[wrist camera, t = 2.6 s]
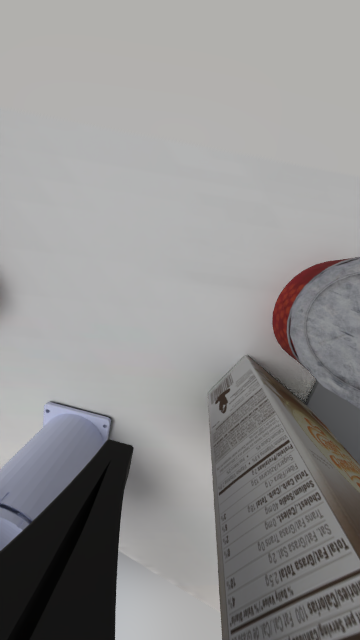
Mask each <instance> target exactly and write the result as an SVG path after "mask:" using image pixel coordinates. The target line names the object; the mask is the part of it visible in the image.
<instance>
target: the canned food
mask: <svg viewBox="0 0 360 640" xmlns="http://www.w3.org/2000/svg"><path fill="white" fill-rule="evenodd" d="M272 324H273V330H274V334H275V337H276V339H277V341H278V343H279V344H280V346H281V347H282V348H283V349H284V350H285V351H286V352H287V353H288V354H289V355H290V356H292V357H293V358H294V359H295V360H297V361H298V362H299V363H300V364H302V365H303V366H304V367H305V368H306V369H307V370H308V371H309V372H310V373H311V374H312V375H313V376H314V377H315V378H316V380H317V381H318V382H319V383H320V384H321V385H322V386H323V387H325V388H326V389H328V390H330V391H331V392H333V393H335V394H336V395H338V396H340V397H341V398H343V399H345V400H346V401H348V402H349V403H351V404H353V405H354V406H356V407H357V408H359V409H360V257H355V258H351V259H343V260H336V261H327V262H324V263H320V264H317V265H314V266H312V267H310V268H308V269H306V270H304V271H302V272H301V273H300V274H298V275H297V276H295V277H294V278H293V279H292V280H291V281H290V282H289V283H288V284H287V285H286V286H285V288H284V289H283V291H282V292H281V293H280V295H279V297H278V299H277V302H276V304H275V307H274V311H273V322H272Z"/></svg>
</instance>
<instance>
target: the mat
mask: <svg viewBox="0 0 360 640" xmlns="http://www.w3.org/2000/svg"><path fill="white" fill-rule="evenodd" d="M305 405H307V406H308V407H309V408H310V409H311V410H312V411H313V412H314V413H315V414H316V416H317V417H318V418H319V419H320V420H321V421H322V422H323V423H324V424H325V426H326V427H327V428H328V429H329V430H330V432H331V433H332V434H333V435H334V436H335V437H336V438H337V440H338V441H339V442H340V443H341V444H342V445H343V446H344V448H345V449H346V450H347V451H348V452H349V453H350V455H351V456H352V457H353V458H354V459H355V460H356V461H357V463H358V464H359V465H360V409H359V408H357V407H356V406H354V405H353V404H351V403H349V402H348V401H346V400H345V399H343V398H341V397H340V396H338V395H336V394H335V393H333V392H331V391H330V390H328V389H326V388H325V387H323V386H322V385H321V384H320V383H319V382H318V381H317V380H316V382H315V385H314V387H313V389H312V391H311V393H310V395H309V397H308V399H307V401H306V403H305Z"/></svg>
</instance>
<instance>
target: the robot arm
mask: <svg viewBox="0 0 360 640" xmlns="http://www.w3.org/2000/svg"><path fill="white" fill-rule="evenodd" d="M110 424H111V420H110V418H108V417H105V416H101V415H98V414H94V413H90V412H86V411H82V410H79V409H75V408H71V407H67V406H63V405H59V404H56V403H52V402H48V403H46V404H45V405H44V420H43V428H42V429H41V430H40V431H39V432H38V433H37V434H36V435H35V436H34V437H33V438H32V439H31V440H30V441H29V442H28V443H27V444H26V445H25V446H24V447H23V448H22V449H21V450H19V451H18V452H17V453H16V454H15V455H14V456H13V457H12V458H11V459H10V460H9V461H8V462H7V463H6V464H5V465H4V466H3V467H2V468H1V469H0V640H115V605H116V579H117V560H118V544H119V531H120V519H121V510H122V501H123V493H124V488H125V484H126V481H127V477H128V474H129V469H130V464H131V458H132V453H133V447H132V445H128V444H124V443H120V442H116V441H112V440H108V436H109V430H110Z"/></svg>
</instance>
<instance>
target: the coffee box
mask: <svg viewBox="0 0 360 640" xmlns="http://www.w3.org/2000/svg"><path fill="white" fill-rule="evenodd" d="M208 407H209V425H210V442H211V459H212V475H213V491H214V509H215V523H216V541H217V556H218V575H219V594H220V609H221V624H222V640H360V465H359V464H358V463H357V461H356V460H355V459H354V458H353V457H352V456H351V455H350V453H349V452H348V451H347V450H346V449H345V448H344V446H343V445H342V444H341V443H340V442H339V441H338V440H337V438H336V437H335V436H334V435H333V434H332V433H331V432H330V430H329V429H328V428H327V427H326V426H325V424H324V423H323V422H322V421H321V420H320V419H319V418H318V417H317V416H316V414H315V413H314V412H313V411H312V410H311V409H310V408H309V407H308V406H307V405H305V404H304V403H303V402H302V401H301V400H299V399H298V398H297V397H296V396H295V395H294V394H292V393H291V392H290V391H289V390H288V389H286V388H285V387H284V386H283V385H282V384H280V383H279V382H278V381H277V380H276V379H275V378H273V377H272V376H271V375H270V374H269V373H268V372H266V371H265V370H264V369H263V368H262V367H260V366H259V365H258V364H257V363H256V362H255V361H253V360H252V359H251V358H250V357H249V356H244V357H243V358H242V359H241V360H240V361H239V362H238V363H237V364H236V365H235V366H234V367H233V368H232V369H231V370H230V371H229V372H228V373H227V374H226V375H225V376H224V377H223V378H222V379H221V380H220V381H219V382H218V383H217V384H216V385H215V386H214V387H213V388H212V389H211V390H210V391H209V392H208Z"/></svg>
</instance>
